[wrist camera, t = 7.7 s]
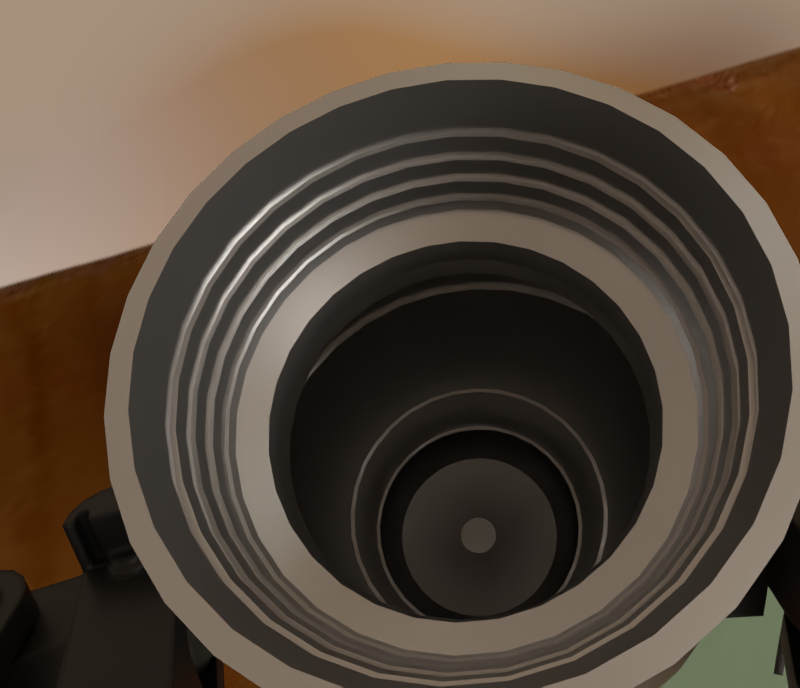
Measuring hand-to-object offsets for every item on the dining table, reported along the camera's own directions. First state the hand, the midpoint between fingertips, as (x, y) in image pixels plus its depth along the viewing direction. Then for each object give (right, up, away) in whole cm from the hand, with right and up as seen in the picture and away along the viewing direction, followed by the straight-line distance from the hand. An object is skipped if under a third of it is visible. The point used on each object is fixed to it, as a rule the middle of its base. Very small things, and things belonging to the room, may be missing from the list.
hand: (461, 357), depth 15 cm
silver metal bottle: (+1, -6, +7) cm, 10 cm away
